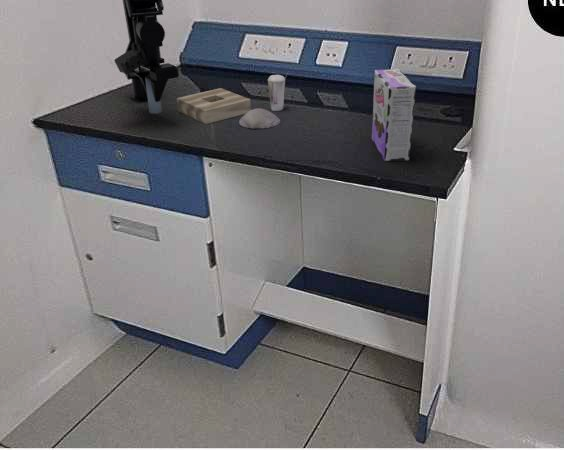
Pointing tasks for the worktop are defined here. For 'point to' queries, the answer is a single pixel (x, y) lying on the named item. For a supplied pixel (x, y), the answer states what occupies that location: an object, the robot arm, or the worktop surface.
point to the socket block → (213, 105)
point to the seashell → (259, 119)
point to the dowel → (152, 99)
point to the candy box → (392, 114)
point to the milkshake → (276, 91)
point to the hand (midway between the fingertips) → (154, 99)
